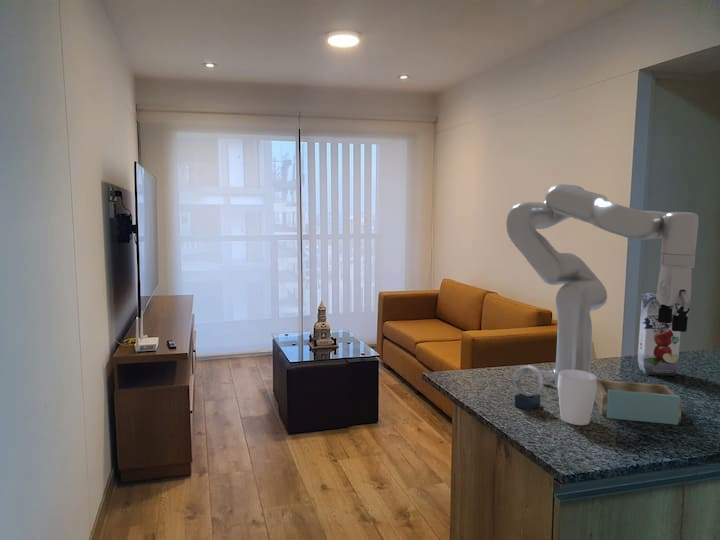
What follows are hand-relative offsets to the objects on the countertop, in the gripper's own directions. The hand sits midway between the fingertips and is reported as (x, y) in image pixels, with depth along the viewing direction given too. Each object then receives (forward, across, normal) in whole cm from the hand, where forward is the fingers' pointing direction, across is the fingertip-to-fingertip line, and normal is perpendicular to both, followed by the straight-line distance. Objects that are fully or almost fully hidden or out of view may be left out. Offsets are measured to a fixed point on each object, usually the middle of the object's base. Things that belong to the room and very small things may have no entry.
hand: (671, 326), depth 137 cm
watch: (+23, +4, -35) cm, 42 cm away
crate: (+23, +2, -8) cm, 24 cm away
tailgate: (+22, +10, -8) cm, 26 cm away
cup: (+23, +12, -24) cm, 36 cm away
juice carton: (+23, -36, +10) cm, 44 cm away
